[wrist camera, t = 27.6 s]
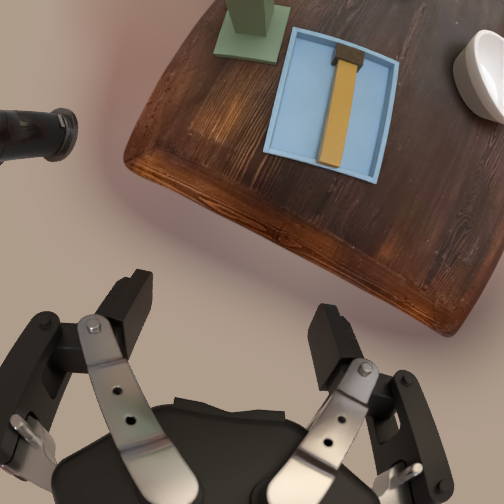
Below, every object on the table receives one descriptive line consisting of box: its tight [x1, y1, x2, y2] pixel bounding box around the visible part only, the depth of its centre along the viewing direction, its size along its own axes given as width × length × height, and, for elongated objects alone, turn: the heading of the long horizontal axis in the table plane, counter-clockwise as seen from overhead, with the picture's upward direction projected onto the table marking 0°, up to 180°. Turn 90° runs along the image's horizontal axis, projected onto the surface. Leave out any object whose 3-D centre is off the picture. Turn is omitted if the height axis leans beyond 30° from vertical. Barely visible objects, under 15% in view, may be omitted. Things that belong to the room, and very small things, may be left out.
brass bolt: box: [316, 42, 365, 169], centre depth 33 cm, size 4×20×3 cm, turn 167°
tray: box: [263, 27, 399, 184], centre depth 35 cm, size 18×22×3 cm
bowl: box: [453, 30, 504, 125], centre depth 26 cm, size 19×19×11 cm
